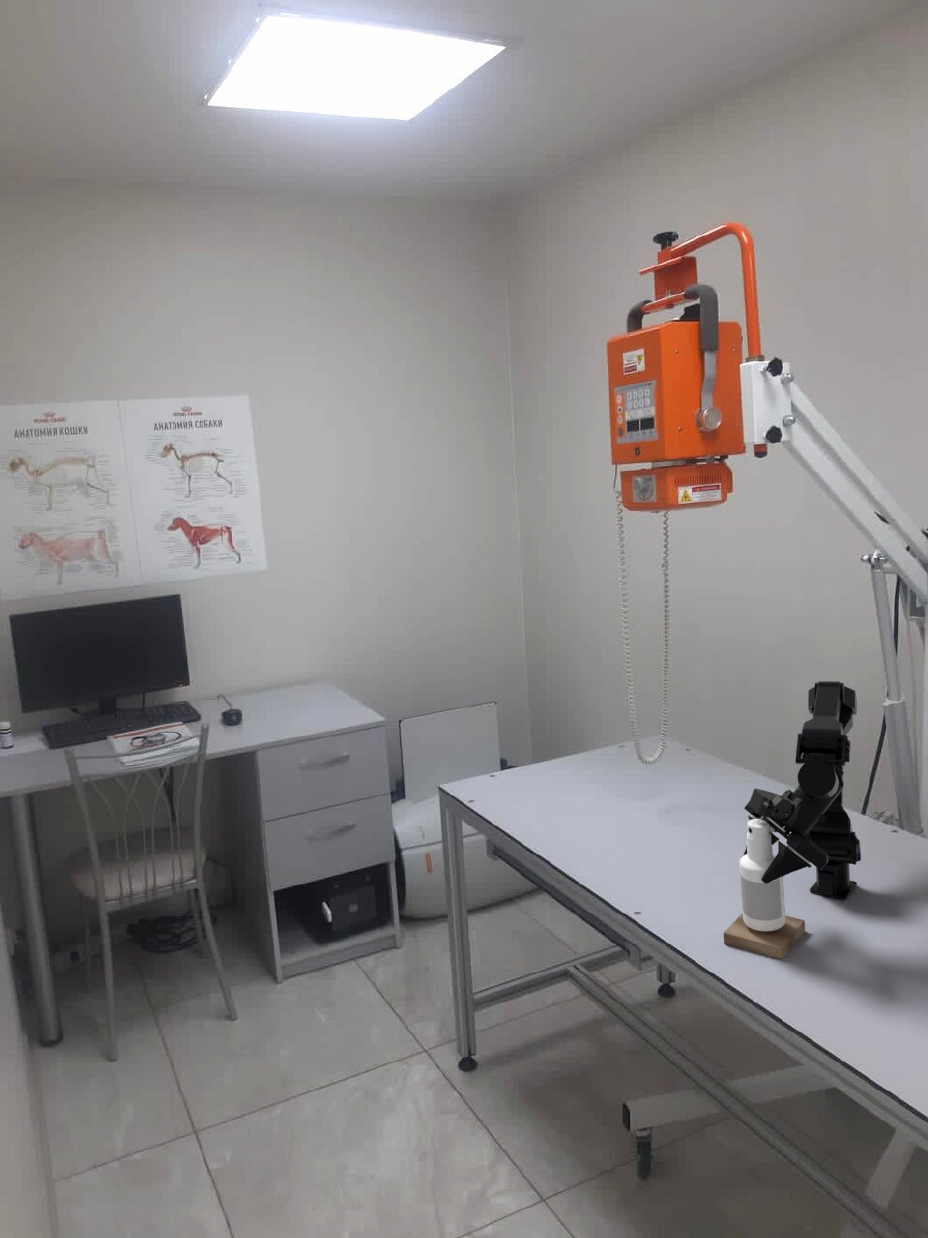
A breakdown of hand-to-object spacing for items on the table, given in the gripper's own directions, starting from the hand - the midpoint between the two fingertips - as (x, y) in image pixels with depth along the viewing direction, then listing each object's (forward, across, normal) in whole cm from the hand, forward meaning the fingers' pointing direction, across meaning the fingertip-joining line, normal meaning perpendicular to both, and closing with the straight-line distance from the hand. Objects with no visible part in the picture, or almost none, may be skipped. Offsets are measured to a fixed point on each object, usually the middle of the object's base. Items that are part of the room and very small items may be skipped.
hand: (753, 872), depth 163 cm
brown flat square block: (+8, 0, +10) cm, 12 cm away
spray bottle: (+6, 0, +8) cm, 10 cm away
